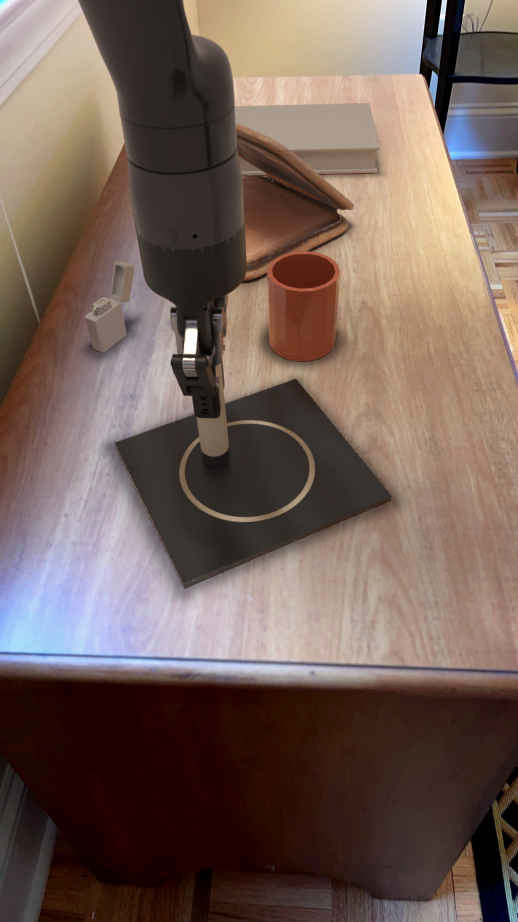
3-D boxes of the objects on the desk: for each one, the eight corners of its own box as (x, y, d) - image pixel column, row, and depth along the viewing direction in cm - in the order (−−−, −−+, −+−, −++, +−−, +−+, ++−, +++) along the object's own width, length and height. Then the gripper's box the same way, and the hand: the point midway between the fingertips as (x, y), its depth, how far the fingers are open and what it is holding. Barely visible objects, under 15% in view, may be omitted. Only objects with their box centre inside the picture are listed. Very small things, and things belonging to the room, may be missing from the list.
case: (360, 228, 94) (371, 103, 82) (243, 289, 85) (236, 159, 73) (260, 178, 104) (257, 62, 92) (147, 228, 95) (127, 106, 83)
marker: (223, 443, 66) (212, 344, 57) (234, 461, 64) (225, 361, 56) (198, 453, 65) (183, 353, 56) (208, 471, 64) (196, 371, 55)
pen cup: (314, 313, 81) (317, 244, 74) (347, 348, 76) (353, 278, 70) (258, 332, 79) (255, 262, 72) (288, 369, 74) (288, 298, 68)
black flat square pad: (296, 382, 73) (296, 377, 72) (391, 500, 62) (392, 495, 61) (115, 446, 67) (114, 441, 67) (184, 588, 56) (183, 583, 56)
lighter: (103, 353, 77) (88, 292, 71) (92, 348, 78) (76, 287, 72) (144, 321, 81) (133, 260, 75) (133, 316, 82) (121, 256, 76)
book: (379, 147, 101) (217, 150, 102) (377, 173, 104) (219, 176, 105) (368, 99, 114) (224, 103, 115) (367, 123, 117) (225, 127, 117)
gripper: (235, 273, 42) (247, 463, 55) (251, 169, 51) (258, 352, 64) (114, 272, 43) (154, 460, 55) (152, 169, 52) (179, 351, 65)
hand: (210, 401), depth 60 cm, fingers closed on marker, 2 cm apart
